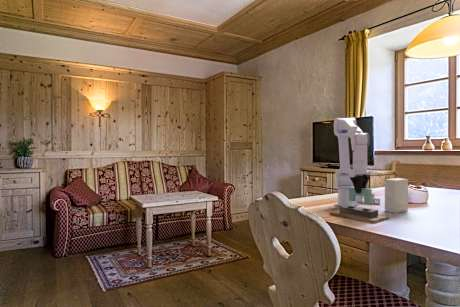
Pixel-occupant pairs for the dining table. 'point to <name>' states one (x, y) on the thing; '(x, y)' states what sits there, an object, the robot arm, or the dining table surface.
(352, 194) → the clip
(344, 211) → the rail stand
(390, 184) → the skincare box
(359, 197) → the lattice window wall
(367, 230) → the dining table surface
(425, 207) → the dining table surface
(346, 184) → the robot arm
